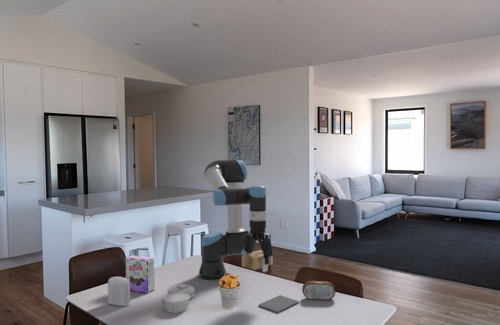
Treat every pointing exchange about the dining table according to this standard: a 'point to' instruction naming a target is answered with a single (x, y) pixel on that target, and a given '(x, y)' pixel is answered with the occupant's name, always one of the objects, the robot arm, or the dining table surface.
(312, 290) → the tin
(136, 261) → the candy box
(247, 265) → the oak block
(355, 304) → the dining table surface
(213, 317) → the dining table surface
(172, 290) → the lid
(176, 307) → the ramekin
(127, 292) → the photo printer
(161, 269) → the dining table surface
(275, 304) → the charcoal mat
